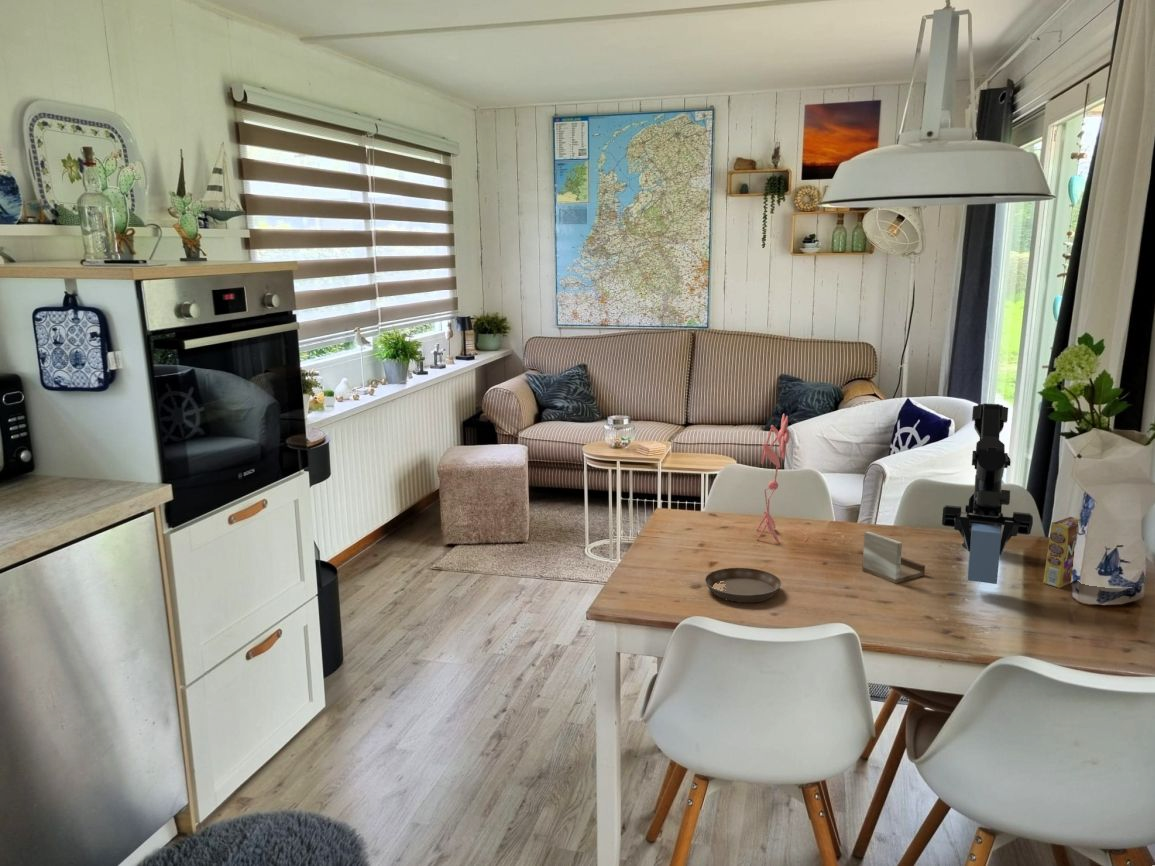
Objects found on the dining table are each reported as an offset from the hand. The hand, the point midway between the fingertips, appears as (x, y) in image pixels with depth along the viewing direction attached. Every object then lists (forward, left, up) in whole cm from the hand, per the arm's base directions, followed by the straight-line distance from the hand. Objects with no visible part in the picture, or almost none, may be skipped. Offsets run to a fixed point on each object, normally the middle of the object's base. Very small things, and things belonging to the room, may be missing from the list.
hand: (984, 552), depth 191 cm
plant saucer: (+54, -6, -11) cm, 55 cm away
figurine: (+34, -45, -11) cm, 57 cm away
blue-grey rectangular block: (-1, -1, -7) cm, 7 cm away
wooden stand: (+14, -15, -10) cm, 23 cm away
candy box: (-23, -7, -11) cm, 26 cm away
